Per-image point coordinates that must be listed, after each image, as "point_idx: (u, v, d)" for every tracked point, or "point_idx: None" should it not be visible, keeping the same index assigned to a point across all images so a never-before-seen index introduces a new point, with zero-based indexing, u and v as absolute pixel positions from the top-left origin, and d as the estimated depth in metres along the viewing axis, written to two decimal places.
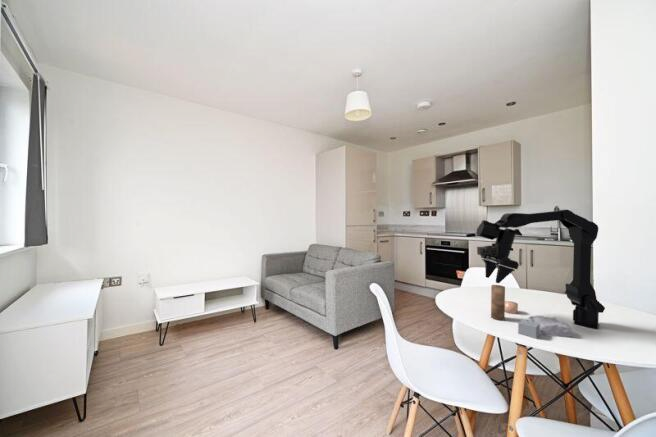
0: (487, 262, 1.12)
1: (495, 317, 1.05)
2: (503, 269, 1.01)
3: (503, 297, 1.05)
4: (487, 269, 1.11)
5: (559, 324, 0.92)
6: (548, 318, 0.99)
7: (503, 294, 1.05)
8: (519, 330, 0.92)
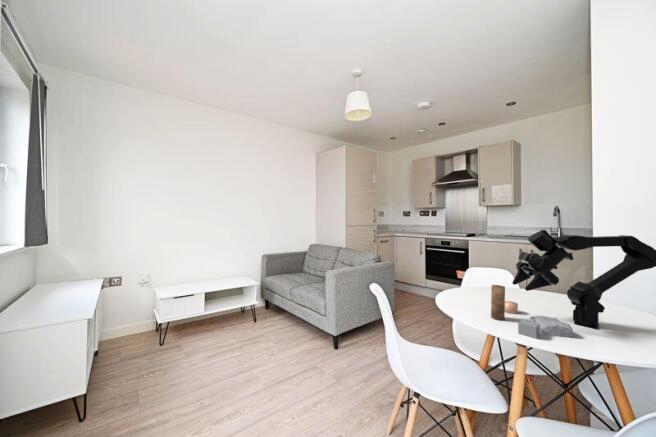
0: (521, 271, 1.10)
1: (495, 317, 1.05)
2: (539, 280, 0.99)
3: (503, 297, 1.05)
4: (517, 277, 1.10)
5: (560, 324, 0.92)
6: (549, 318, 0.99)
7: (503, 294, 1.05)
8: (519, 330, 0.92)
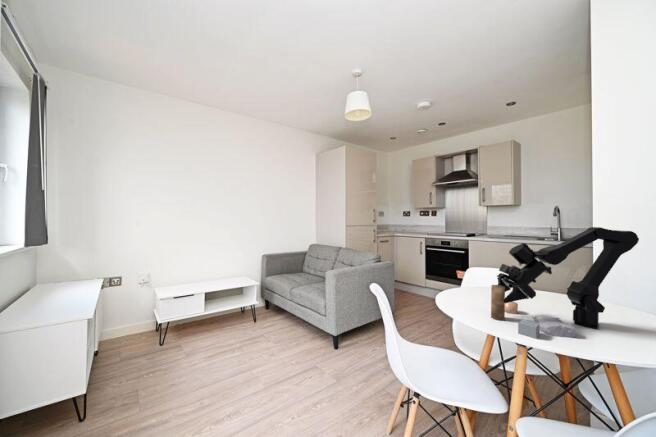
0: (501, 282, 1.11)
1: (495, 317, 1.05)
2: (517, 293, 1.00)
3: (503, 297, 1.05)
4: None
5: (563, 324, 0.91)
6: (552, 318, 0.99)
7: (503, 294, 1.05)
8: (519, 330, 0.92)
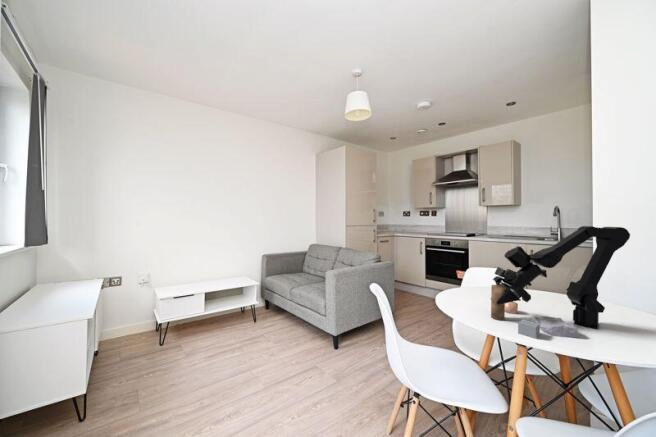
0: None
1: (495, 317, 1.05)
2: (510, 295, 1.03)
3: None
4: None
5: (565, 325, 0.91)
6: (554, 318, 0.99)
7: None
8: (519, 330, 0.92)
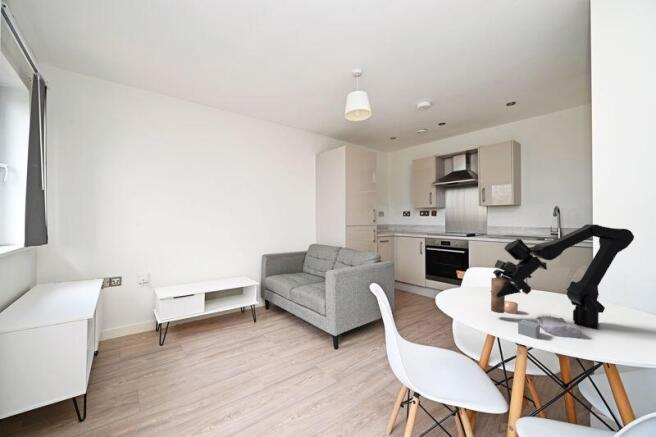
0: None
1: (495, 310, 1.05)
2: (510, 287, 1.03)
3: None
4: None
5: (568, 325, 0.91)
6: (556, 319, 0.98)
7: None
8: (519, 330, 0.92)
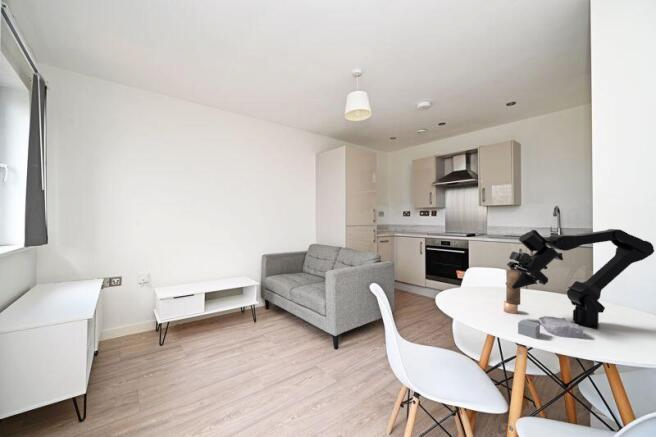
0: None
1: (511, 301, 1.04)
2: (526, 278, 1.02)
3: None
4: None
5: (571, 325, 0.91)
6: (558, 319, 0.98)
7: None
8: (519, 330, 0.93)
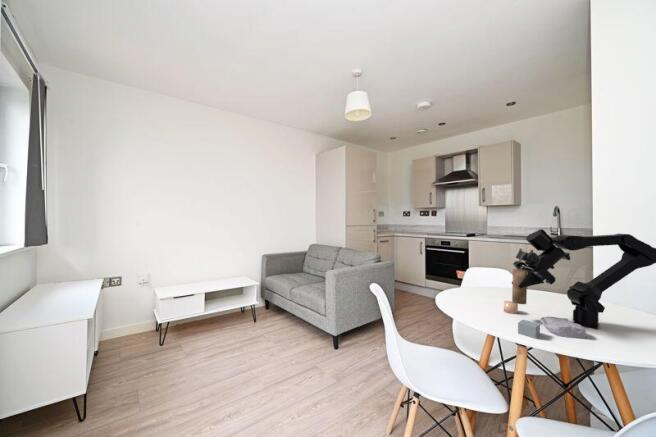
0: None
1: (517, 301, 1.04)
2: (532, 278, 1.01)
3: None
4: None
5: (573, 325, 0.91)
6: (560, 319, 0.98)
7: (525, 277, 1.03)
8: (519, 330, 0.93)
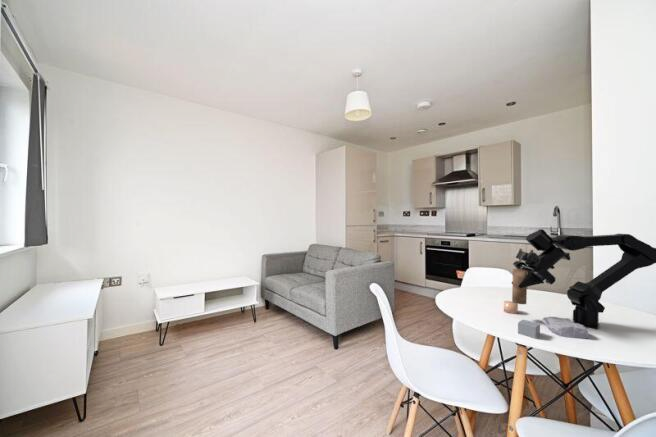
0: None
1: (517, 301, 1.04)
2: (532, 278, 1.01)
3: None
4: None
5: (575, 325, 0.91)
6: (562, 319, 0.98)
7: (525, 277, 1.03)
8: (519, 330, 0.93)
